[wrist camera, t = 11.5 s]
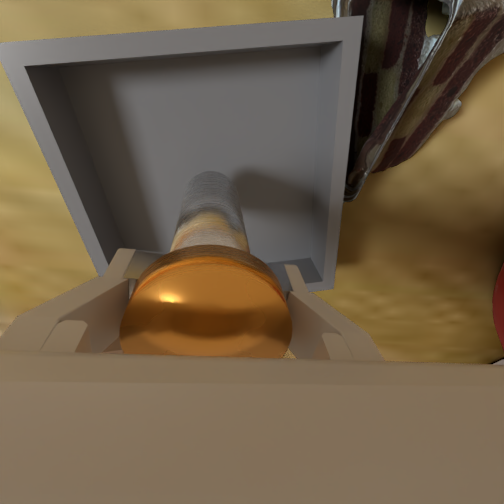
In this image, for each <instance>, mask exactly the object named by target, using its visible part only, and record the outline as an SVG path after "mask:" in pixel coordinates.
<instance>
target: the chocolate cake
mask: <svg viewBox="0 0 504 504" xmlns="http://www.w3.org/2000/svg"><path fill="white" fill-rule="evenodd" d="M439 1H441V2H443V4H442V14H444V15H448V16H449V20H448V22H447V24H446V27H445V29H444V30H443V32H442V33H441V35H432V36H430V37H427V35H426V31H425V23H426V19H427V5H428V0H331V2H332V8H333V13H334V18H337V17H350V16H363V15H364V17H363V26H362V35H361V44H360V53H359V62H358V71H357V80H356V89H355V98H354V107H353V116H352V125H351V134H350V143H349V153H348V162H347V171H346V180H345V189H344V198H343V203H345V202H350V201H353V200H354V199H356V197H357V195H358V193H359V192H360V190H361V188H362V186H363V184H364V182H365V180H366V178H367V176H368V174H369V173H370V172H371V173H376V172H379V171H384V170H385V169H387V168H389V167H393V166H396V165H398V164H399V163H401V162H403V161H405V160H407V159H408V158H410V157H412V156H413V154H414V153H416V152H417V150H418V149H419V148H420V147H421V146H422V145H423V143H424V142H425V141H426V140H427V139H428V138H429V136H430V134H431V133H432V132H433V131H434V129H435V128H436V127H437V126H438V125H439V124H440V123H441V122H442V121H443V120H445V119H449V118H451V117H453V116H454V115H455V114H456V113H457V112H458V110H459V109H460V107H461V102H460V100H459V99H457V98H458V97H459V96H460V95H461V94H462V93H463V92H464V91H465V89H466V88H467V87H468V85H469V84H470V82H471V80H472V78H473V77H474V76H475V74H476V73H477V72H478V71H479V70H480V69H481V68H482V67H483V66H484V65H485V64H486V63H488V62H489V61H490V60H492V59H493V58H495V57H497V56H498V55H500V54H502V53H504V0H439Z"/></svg>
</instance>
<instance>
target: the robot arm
mask: <svg viewBox="0 0 504 504" xmlns="http://www.w3.org/2000/svg"><path fill="white" fill-rule="evenodd" d="M165 254H167V253H161V252H153V251H144V250H135V249H126V248H120V249H118V250H117V252H116V254H115V256H114V257H113V259H112V261H111V263H110V265H109V266H108V268H107V270H106V272H105V274H104V275H103V277H96V278H94V279H92V280H90V281H88V282H86V283H84V284H82V285H80V286H78V287H76V288H74V289H72V290H69V291H67V292H65V293H63V294H61V295H59V296H57V297H55V298H53V299H51V300H49V301H47V302H45V303H43V304H41V305H39V306H37V307H35V308H33V309H31V310H29V311H27V312H25V313H23V314H21V315H19V316H17V318H16V319H15V320H14V321H13V322H12V324H11V325H10V326H9V327H8V329H7V330H6V331H5V332H4V334H3V335H2V336H1V337H0V504H504V359H503V360H501V361H499V362H496V363H494V364H464V363H429V362H394V361H385V360H384V359H383V357H382V355H381V354H380V352H379V350H378V349H377V347H376V345H375V344H374V342H373V340H372V338H371V337H370V335H369V334H368V333H367V332H365V331H364V330H363V329H361V328H360V327H359V326H357V325H356V324H354V323H353V322H352V321H350V320H349V319H348V318H346V317H345V316H344V315H342V314H341V313H339V312H338V311H337V310H335V309H334V308H333V307H331V306H330V305H329V304H327V303H326V302H324V301H323V300H322V299H320V298H319V297H318V296H316V295H315V294H314V293H309V291H308V289H307V287H306V285H305V282H304V280H303V278H302V276H301V273H300V271H299V269H298V267H297V266H296V265H291V264H274V263H265V264H267V266H268V267H269V268H270V269H271V270H272V271H273V272H274V274H275V275H276V277H277V278H278V280H279V282H280V285H281V288H282V291H283V294H284V297H285V300H286V303H287V306H288V310H289V313H290V316H291V320H292V328H293V331H292V338H291V342H290V345H289V347H288V348H289V350H290V351H291V352H292V353H293V354H294V355H295V357H296V358H297V359H289V358H256V357H219V356H183V355H147V354H112V353H102V352H103V351H104V350H105V349H106V348H107V347H108V346H109V345H110V344H112V343H113V342H114V341H115V340H116V339H117V338H118V337H119V330H120V325H121V321H122V318H123V315H124V313H125V310H126V307H127V305H128V302H129V299H130V297H131V294H132V291H133V289H134V286H135V284H136V282H137V280H138V278H139V277H140V275H141V274H142V273H143V272H144V270H145V269H146V268H147V267H148V266H149V265H151V264H152V263H153V262H154V261H156V260H157V259H159V258H160V257H162V256H164V255H165Z"/></svg>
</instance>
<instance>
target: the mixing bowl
mask: <svg viewBox="0 0 504 504" xmlns="http://www.w3.org/2000/svg"><path fill="white" fill-rule="evenodd" d="M492 303H493V318H494V324H495V327H496V331H497V334H498V336H499V339H500V342H501V344H502V347H503V350H504V262H503V265H502V268H501V271H500V273H499V275H498V278H497V281H496V285H495V289H494V293H493V301H492Z"/></svg>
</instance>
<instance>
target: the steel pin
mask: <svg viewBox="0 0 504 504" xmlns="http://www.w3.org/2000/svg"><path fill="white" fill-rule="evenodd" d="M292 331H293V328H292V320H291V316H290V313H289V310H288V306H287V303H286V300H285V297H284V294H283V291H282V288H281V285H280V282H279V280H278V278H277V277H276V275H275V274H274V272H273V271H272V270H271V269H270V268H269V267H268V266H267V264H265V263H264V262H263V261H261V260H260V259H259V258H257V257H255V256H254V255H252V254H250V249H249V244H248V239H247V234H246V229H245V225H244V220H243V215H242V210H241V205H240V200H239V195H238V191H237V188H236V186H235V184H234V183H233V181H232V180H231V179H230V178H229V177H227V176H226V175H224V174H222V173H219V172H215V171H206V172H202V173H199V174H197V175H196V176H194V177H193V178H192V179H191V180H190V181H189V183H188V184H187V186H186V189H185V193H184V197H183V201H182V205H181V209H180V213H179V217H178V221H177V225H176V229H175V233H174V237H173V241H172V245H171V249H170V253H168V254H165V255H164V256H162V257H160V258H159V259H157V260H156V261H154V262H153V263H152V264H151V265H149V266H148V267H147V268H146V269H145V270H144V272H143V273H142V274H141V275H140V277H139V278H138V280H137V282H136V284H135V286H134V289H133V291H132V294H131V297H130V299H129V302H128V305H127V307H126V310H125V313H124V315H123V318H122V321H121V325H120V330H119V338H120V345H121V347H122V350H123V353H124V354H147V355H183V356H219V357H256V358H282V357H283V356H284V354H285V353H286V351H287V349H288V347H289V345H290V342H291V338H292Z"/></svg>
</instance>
